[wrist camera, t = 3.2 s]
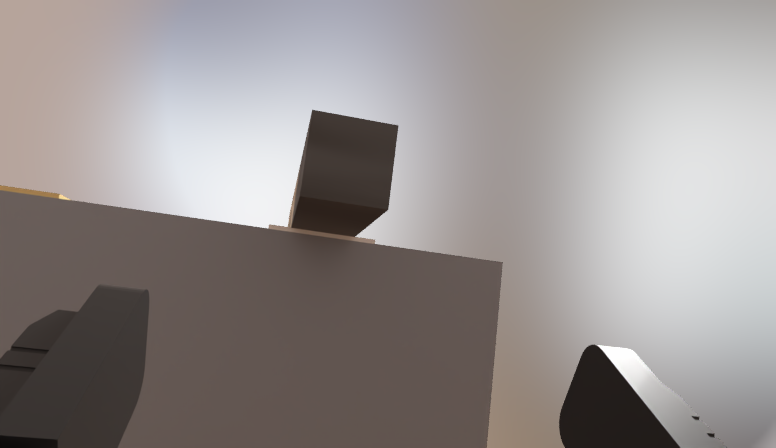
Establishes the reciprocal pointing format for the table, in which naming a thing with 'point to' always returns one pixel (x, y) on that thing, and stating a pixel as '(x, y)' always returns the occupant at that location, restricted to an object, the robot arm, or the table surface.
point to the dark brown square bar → (343, 174)
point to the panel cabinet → (267, 326)
